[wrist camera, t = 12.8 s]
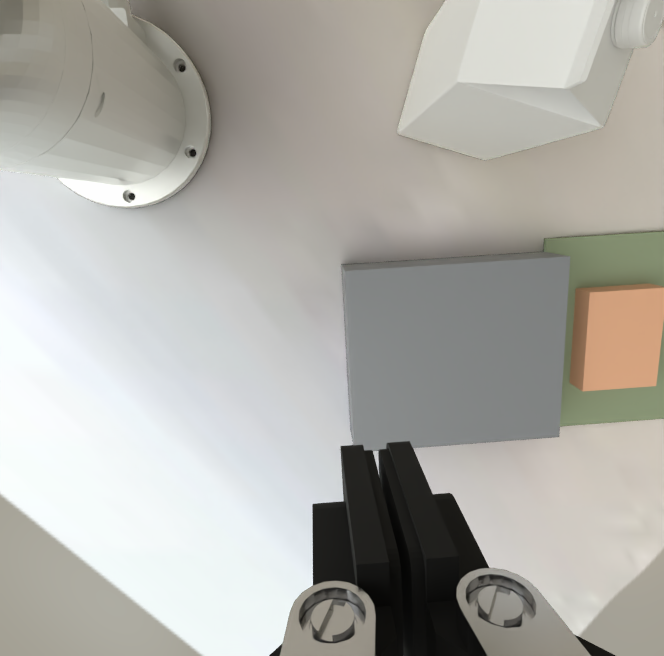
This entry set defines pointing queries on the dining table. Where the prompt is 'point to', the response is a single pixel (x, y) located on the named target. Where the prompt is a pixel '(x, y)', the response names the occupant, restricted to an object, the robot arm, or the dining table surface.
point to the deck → (455, 348)
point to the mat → (598, 271)
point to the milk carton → (522, 71)
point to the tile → (616, 336)
